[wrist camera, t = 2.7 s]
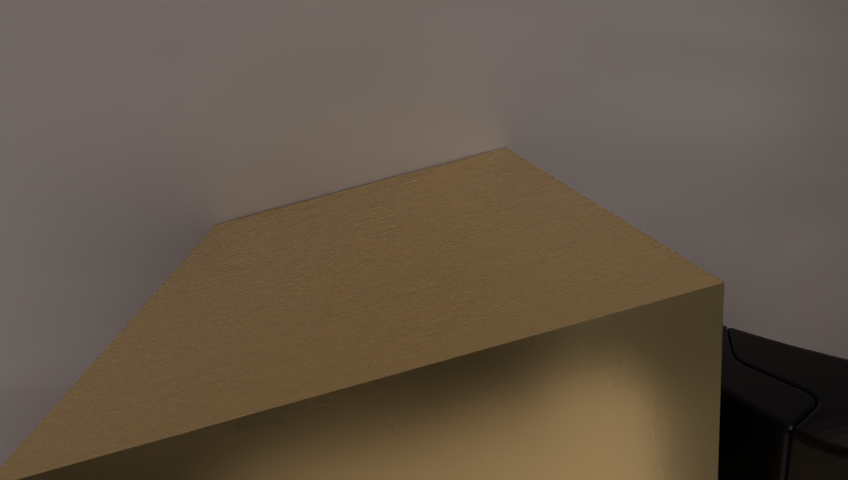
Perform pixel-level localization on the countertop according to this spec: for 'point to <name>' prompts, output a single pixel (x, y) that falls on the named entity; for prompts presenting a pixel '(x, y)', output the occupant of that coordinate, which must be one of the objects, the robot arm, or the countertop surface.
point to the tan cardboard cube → (408, 346)
